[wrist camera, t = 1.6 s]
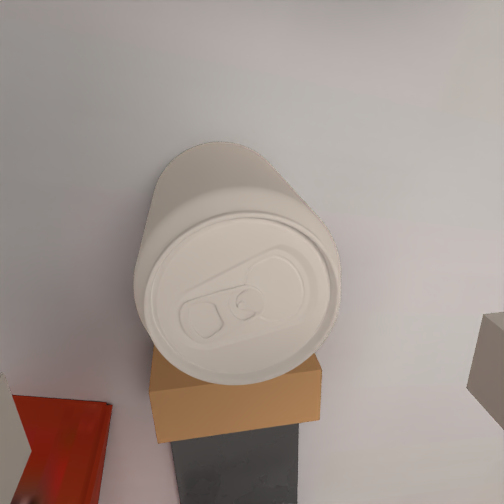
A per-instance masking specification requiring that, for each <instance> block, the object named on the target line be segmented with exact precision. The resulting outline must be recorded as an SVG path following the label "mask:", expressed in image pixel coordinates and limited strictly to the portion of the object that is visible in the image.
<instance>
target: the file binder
mask: <svg viewBox="0 0 504 504" xmlns="http://www.w3.org/2000/svg"><path fill="white" fill-rule="evenodd" d="M12 397H13V400H14V403H15V406H16V408H17V411H18V414H19V417H20V420H21V422H22V425H23V428H24V431H25V434H26V437H27V439H28V442H29V445H30V448H31V454H30V456H29V459H28V461H27V464H26V466H25V469H24V471H23V474H22V476H21V478H20V481H19V483H18V486H17V488H16V491H15V493H14V496H13V498H12V501H11V503H10V504H98V500H99V493H100V487H101V480H102V473H103V466H104V460H105V453H106V446H107V439H108V433H109V426H110V419H111V412H112V406H113V405H106V403H105V402H93V401H80V400H68V399H55V398H43V397H30V396H17V395H12Z"/></svg>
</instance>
